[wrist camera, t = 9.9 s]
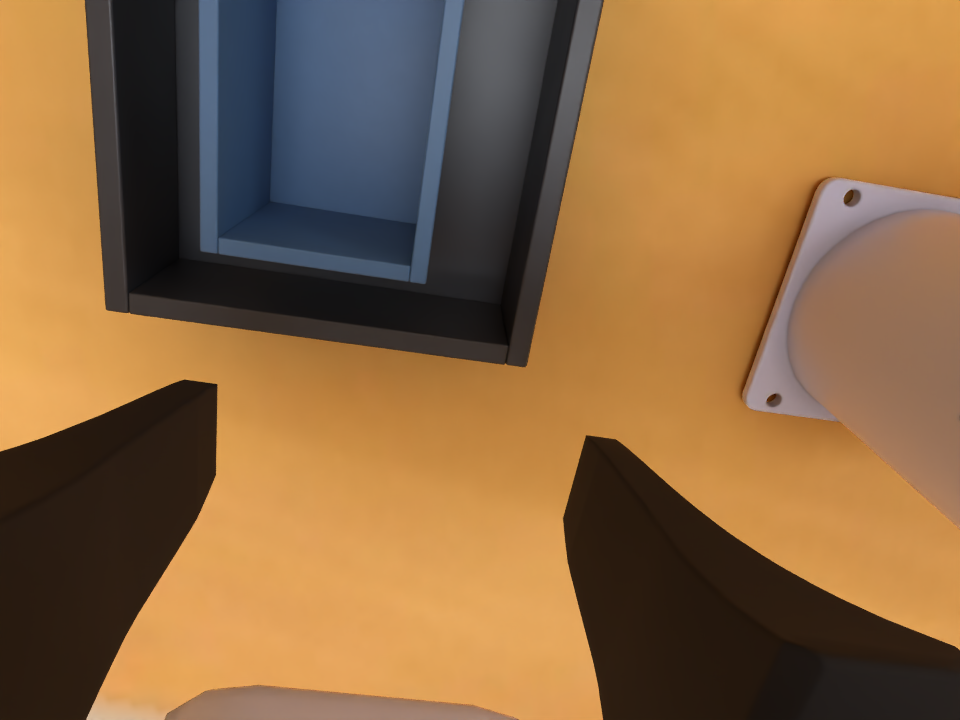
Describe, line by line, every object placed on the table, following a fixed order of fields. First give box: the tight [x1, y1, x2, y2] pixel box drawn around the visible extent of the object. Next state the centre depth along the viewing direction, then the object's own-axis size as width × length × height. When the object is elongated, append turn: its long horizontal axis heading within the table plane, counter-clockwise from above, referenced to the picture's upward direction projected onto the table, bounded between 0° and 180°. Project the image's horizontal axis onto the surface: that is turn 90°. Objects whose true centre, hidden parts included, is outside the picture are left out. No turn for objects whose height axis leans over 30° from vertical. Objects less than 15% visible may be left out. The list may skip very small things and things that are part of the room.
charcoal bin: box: [85, 0, 604, 367], centre depth 17 cm, size 11×13×4 cm
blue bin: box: [199, 0, 465, 284], centre depth 16 cm, size 8×5×5 cm, turn 170°
